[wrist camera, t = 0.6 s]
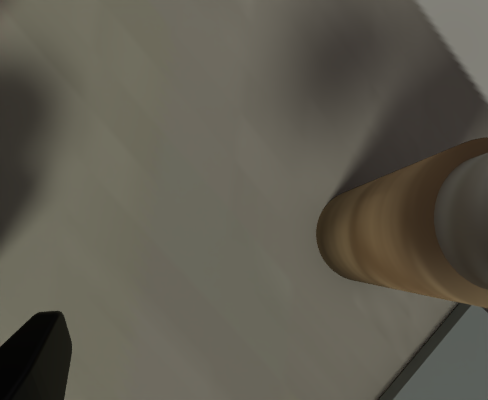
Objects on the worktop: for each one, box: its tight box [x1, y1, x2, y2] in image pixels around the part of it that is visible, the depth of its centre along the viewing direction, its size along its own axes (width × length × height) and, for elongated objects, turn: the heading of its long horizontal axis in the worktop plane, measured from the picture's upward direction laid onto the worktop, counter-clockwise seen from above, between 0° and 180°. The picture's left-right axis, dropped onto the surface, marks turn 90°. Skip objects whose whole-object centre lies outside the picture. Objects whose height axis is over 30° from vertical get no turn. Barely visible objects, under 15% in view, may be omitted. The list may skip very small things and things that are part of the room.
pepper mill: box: [316, 138, 488, 308], centre depth 17 cm, size 5×5×13 cm
